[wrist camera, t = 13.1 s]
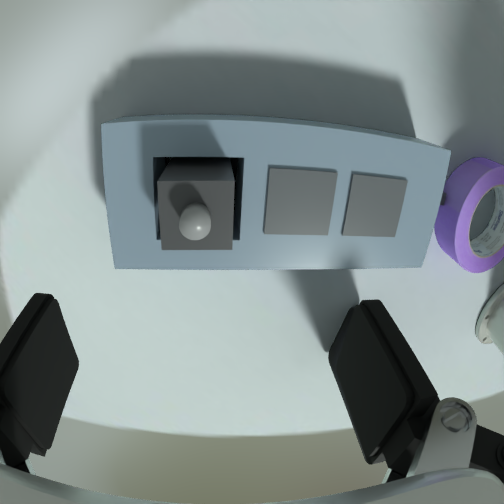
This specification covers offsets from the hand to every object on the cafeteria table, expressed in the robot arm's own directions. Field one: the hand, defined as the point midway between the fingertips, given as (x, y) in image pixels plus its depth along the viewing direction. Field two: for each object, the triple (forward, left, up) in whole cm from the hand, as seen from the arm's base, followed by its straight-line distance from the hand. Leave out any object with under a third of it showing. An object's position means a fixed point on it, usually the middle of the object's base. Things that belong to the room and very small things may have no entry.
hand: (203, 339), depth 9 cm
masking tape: (-27, +1, -17) cm, 32 cm away
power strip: (-5, 0, -17) cm, 18 cm away
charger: (+1, 0, -17) cm, 17 cm away
